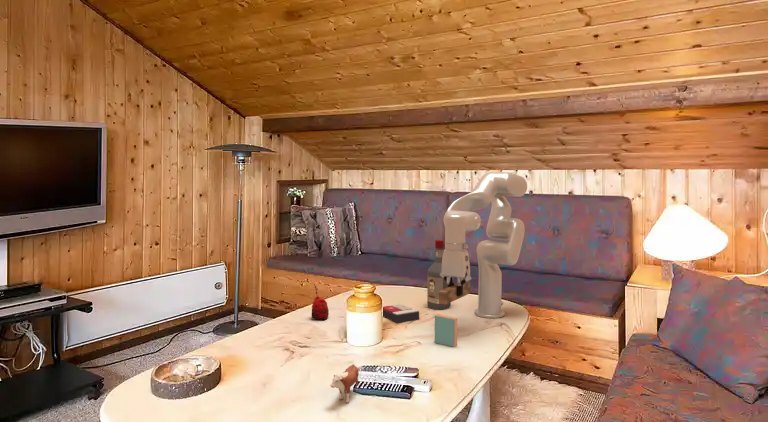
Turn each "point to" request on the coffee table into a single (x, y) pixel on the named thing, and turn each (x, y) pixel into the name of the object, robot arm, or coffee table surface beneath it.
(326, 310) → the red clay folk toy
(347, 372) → the bull figurine
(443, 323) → the tile
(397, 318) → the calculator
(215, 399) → the coffee table surface
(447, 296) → the stick
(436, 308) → the liquor
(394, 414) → the coffee table surface
